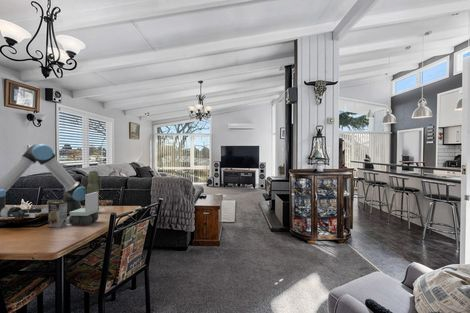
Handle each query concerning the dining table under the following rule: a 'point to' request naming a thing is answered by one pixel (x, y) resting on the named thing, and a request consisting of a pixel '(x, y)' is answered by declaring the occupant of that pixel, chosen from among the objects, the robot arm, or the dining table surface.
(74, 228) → the dining table surface
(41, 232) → the dining table surface
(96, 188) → the thermos
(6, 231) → the dining table surface
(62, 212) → the coffee box
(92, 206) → the cart
